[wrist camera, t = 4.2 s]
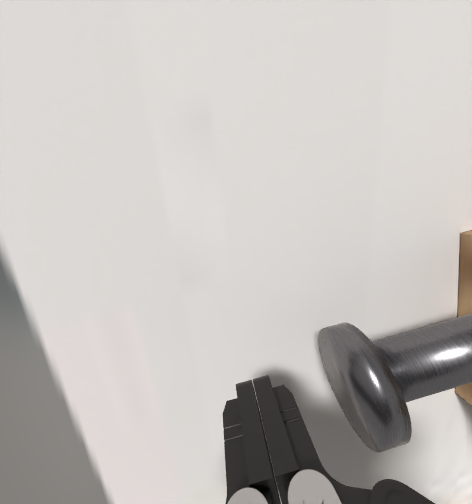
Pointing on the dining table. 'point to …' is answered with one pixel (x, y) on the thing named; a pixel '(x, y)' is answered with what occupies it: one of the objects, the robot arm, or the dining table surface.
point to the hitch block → (465, 296)
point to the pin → (393, 374)
